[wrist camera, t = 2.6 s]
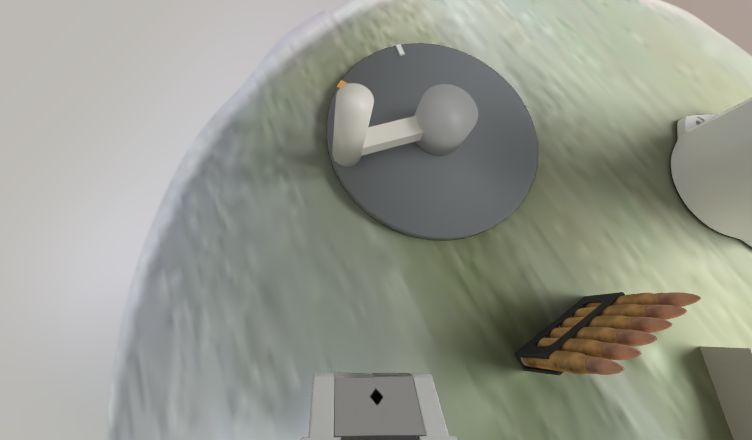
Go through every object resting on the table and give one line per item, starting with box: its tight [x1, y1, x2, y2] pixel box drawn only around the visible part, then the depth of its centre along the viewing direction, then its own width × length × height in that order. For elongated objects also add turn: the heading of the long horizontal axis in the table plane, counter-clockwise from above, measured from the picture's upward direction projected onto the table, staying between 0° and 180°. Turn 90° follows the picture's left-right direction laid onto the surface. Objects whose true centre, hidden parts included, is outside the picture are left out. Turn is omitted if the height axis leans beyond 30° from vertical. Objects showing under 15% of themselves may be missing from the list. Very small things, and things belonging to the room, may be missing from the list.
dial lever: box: [332, 83, 478, 167], centre depth 34 cm, size 15×6×9 cm, turn 111°
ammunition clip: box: [515, 292, 701, 375], centre depth 31 cm, size 11×2×12 cm, turn 123°
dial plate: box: [327, 43, 538, 240], centre depth 40 cm, size 24×24×2 cm
